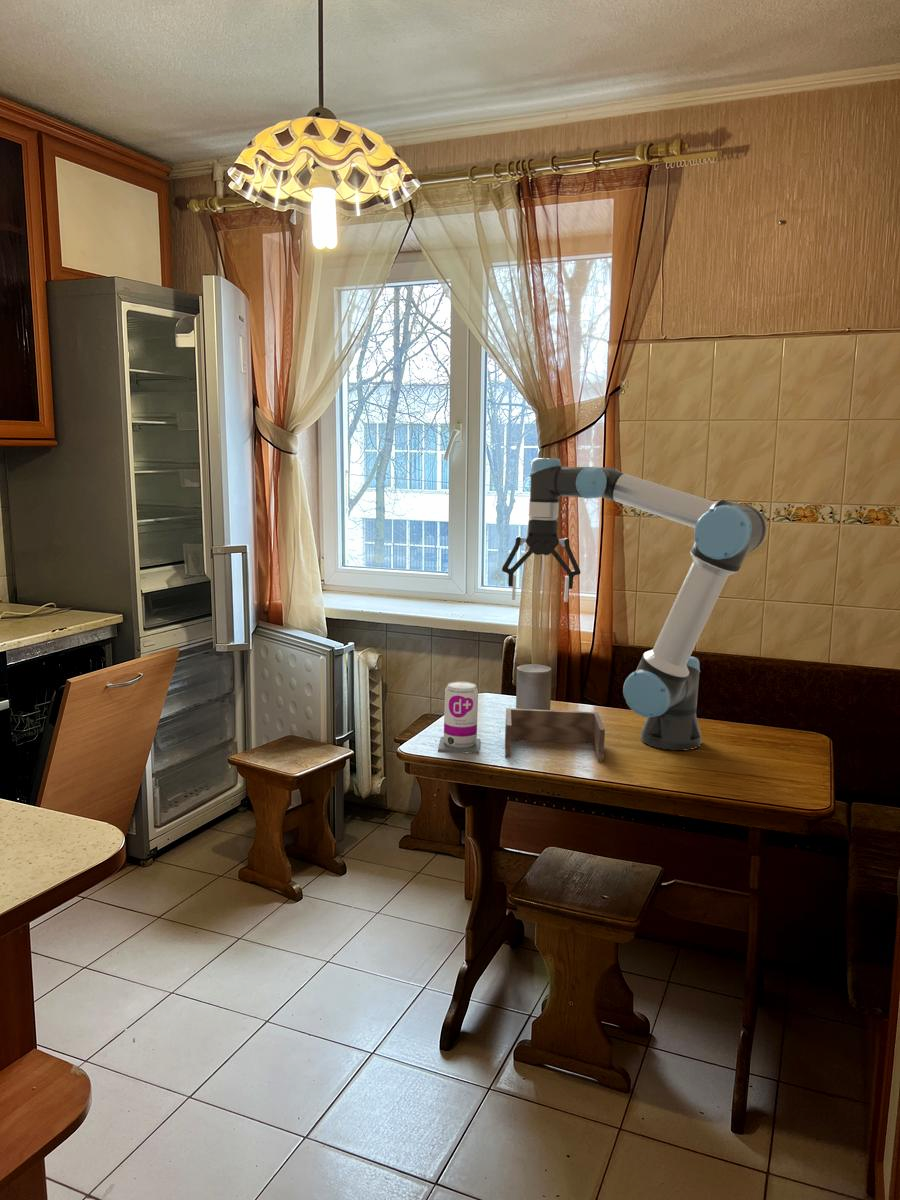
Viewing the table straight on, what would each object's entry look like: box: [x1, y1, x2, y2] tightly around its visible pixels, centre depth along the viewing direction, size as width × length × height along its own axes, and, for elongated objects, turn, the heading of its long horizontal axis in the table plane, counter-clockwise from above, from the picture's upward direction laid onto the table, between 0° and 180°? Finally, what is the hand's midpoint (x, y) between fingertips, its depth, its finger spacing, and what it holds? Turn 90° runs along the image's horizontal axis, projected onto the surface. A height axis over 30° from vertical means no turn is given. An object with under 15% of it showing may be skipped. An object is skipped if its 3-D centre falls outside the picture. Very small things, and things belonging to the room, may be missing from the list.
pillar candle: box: [515, 663, 552, 710], centre depth 251 cm, size 10×10×15 cm
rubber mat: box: [437, 736, 481, 754], centre depth 223 cm, size 10×10×1 cm
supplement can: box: [443, 681, 479, 748], centre depth 222 cm, size 8×8×15 cm
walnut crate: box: [504, 707, 606, 763], centre depth 221 cm, size 23×15×8 cm, turn 87°
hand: (539, 600), depth 234 cm, fingers open, 13 cm apart
